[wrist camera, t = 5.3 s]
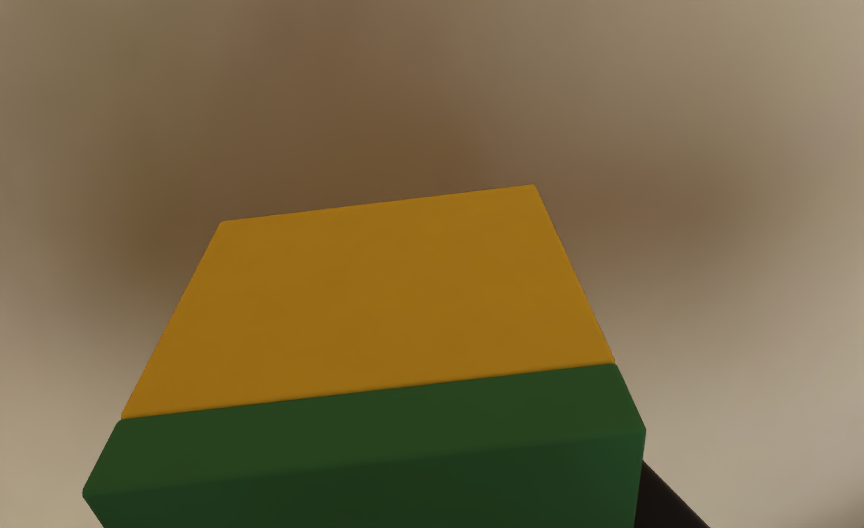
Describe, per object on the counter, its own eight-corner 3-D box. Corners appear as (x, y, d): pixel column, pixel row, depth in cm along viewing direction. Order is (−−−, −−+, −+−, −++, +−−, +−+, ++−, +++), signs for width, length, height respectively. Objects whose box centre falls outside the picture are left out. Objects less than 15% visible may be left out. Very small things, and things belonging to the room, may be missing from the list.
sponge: (219, 220, 8) (76, 494, 5) (535, 182, 8) (649, 430, 5) (321, 517, 12) (288, 801, 8) (539, 493, 12) (604, 769, 8)
